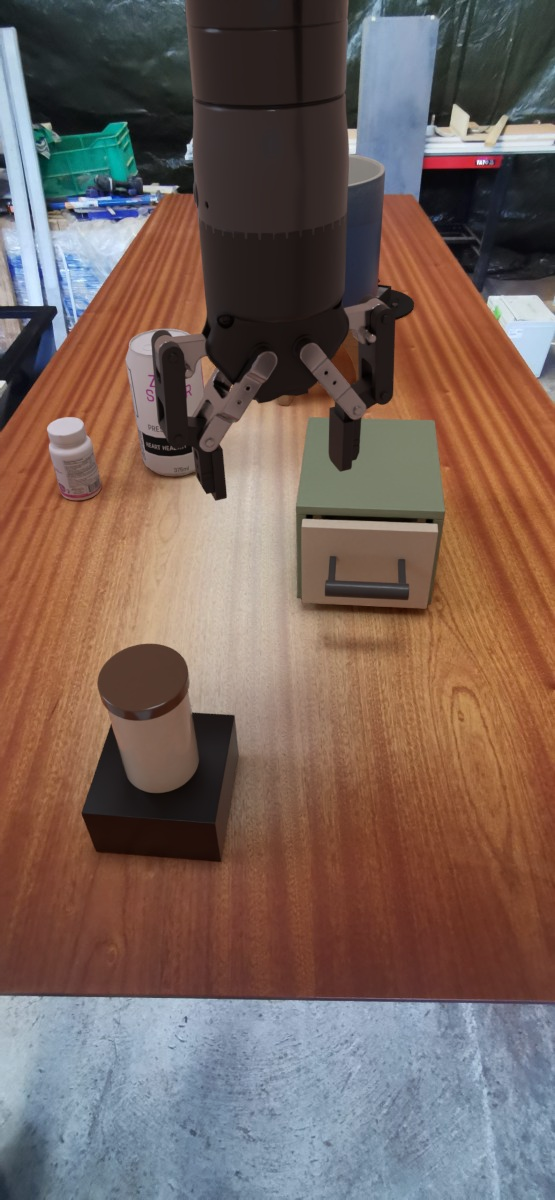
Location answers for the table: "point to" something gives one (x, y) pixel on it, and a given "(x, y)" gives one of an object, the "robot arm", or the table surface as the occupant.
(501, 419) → the table surface
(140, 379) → the supplement can
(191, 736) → the jar
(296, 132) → the robot arm
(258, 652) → the table surface
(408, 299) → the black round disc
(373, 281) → the planter
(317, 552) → the drawer
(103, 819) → the stand
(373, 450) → the cabinet
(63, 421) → the pill bottle
